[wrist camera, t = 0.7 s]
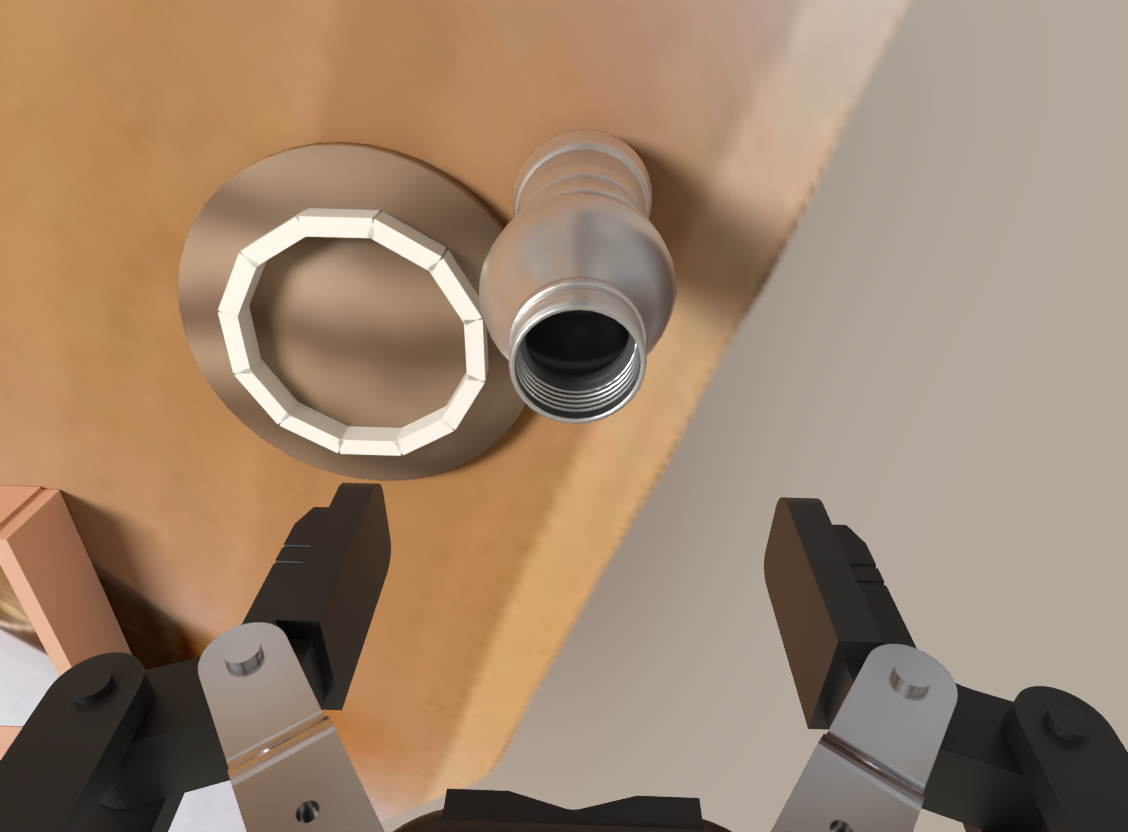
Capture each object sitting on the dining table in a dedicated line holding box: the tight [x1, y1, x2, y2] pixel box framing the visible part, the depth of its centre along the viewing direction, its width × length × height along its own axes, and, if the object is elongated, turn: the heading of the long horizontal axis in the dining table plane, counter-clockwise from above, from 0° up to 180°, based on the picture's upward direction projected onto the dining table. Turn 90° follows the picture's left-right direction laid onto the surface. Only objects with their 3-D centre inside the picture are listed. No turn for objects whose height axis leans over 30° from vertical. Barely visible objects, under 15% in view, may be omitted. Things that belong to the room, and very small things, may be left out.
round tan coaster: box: [178, 142, 526, 481], centre depth 39 cm, size 20×20×1 cm
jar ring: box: [218, 208, 489, 456], centre depth 38 cm, size 14×14×2 cm
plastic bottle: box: [479, 130, 677, 424], centre depth 27 cm, size 6×7×20 cm
